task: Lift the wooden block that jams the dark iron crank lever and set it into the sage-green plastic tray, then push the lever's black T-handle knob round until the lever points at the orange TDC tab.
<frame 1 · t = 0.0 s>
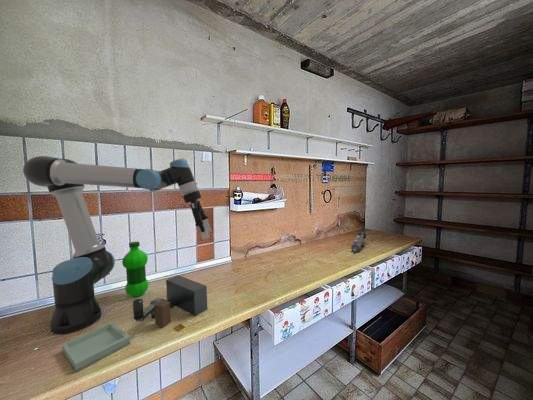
hand: (207, 235, 107), 28 cm above the workbench, tool tilted 20°, fingers open, 13 cm apart
plastic bottle: (137, 294, 110), on the workbench
tray: (96, 347, 74), on the workbench
wooden block: (163, 324, 86), on the workbench
hydraulic cylinder: (358, 247, 179), on the workbench
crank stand: (158, 315, 91), on the workbench
crank: (149, 302, 86), point 8 cm above the workbench, hinge at -60.0°
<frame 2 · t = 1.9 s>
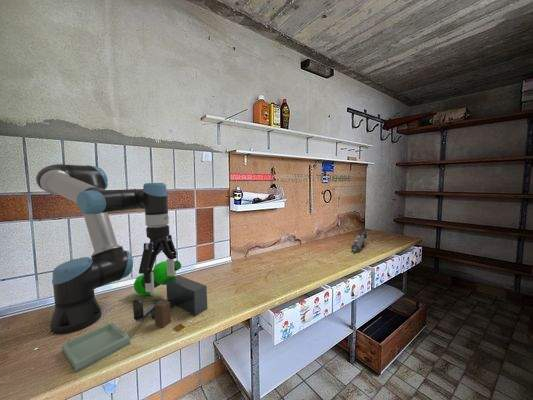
hand: (161, 282, 84), 16 cm above the workbench, tool pointing down, fingers open, 13 cm apart
plastic bottle: (139, 288, 110), point 3 cm above the workbench, touching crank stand
everything else where it was.
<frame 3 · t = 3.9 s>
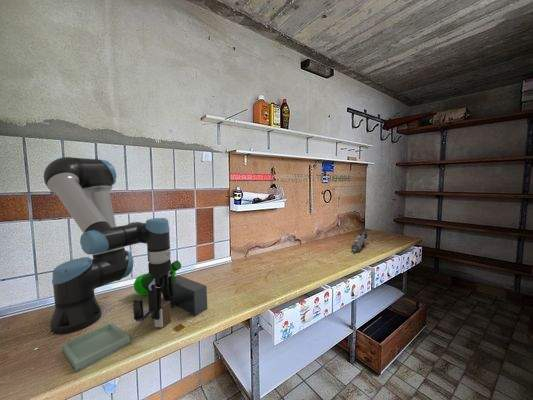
hand: (163, 321, 85), 1 cm above the workbench, tool pointing down, fingers closed on wooden block, 5 cm apart
wooden block: (163, 324, 86), on the workbench, touching gripper
everything else where it was.
when the fingers open (3 cm above the workbench, at t = 9.6 s): wooden block drops 1 cm, resting on tray.
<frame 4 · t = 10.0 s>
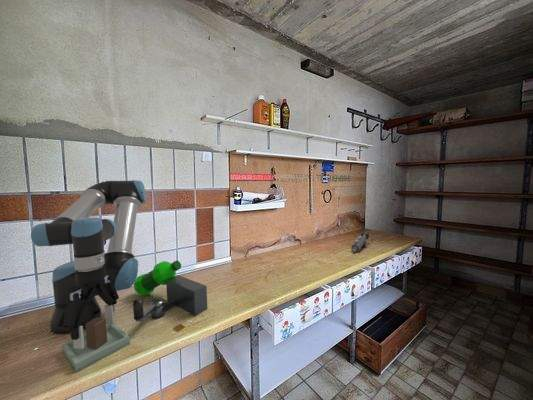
hand: (95, 334, 73), 4 cm above the workbench, tool pointing down, fingers open, 11 cm apart
wooden block: (97, 345, 74), point 1 cm above the workbench, touching tray
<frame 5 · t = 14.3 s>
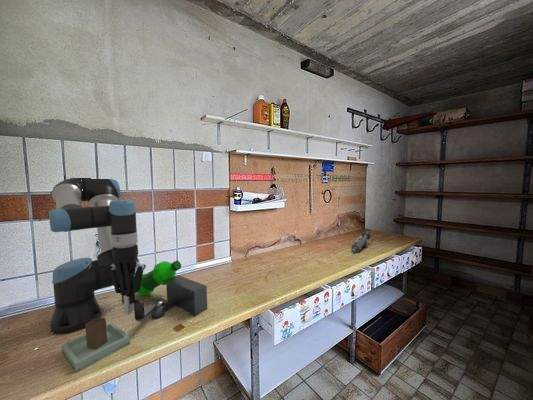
hand: (129, 312, 80), 8 cm above the workbench, tool pointing down, fingers closed
crank: (149, 302, 86), point 8 cm above the workbench, hinge at -58.2°, touching gripper
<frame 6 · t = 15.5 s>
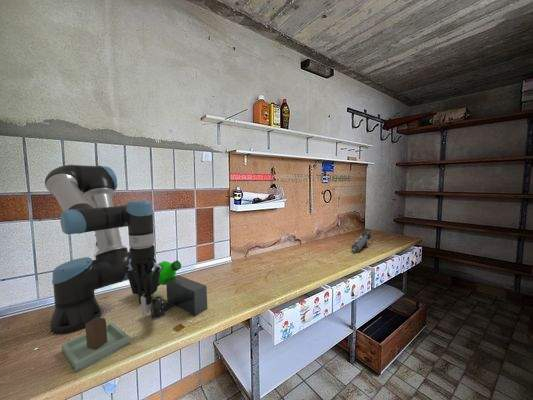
hand: (146, 313, 80), 7 cm above the workbench, tool pointing down, fingers closed
crank: (157, 301, 86), point 8 cm above the workbench, hinge at -27.1°, touching gripper
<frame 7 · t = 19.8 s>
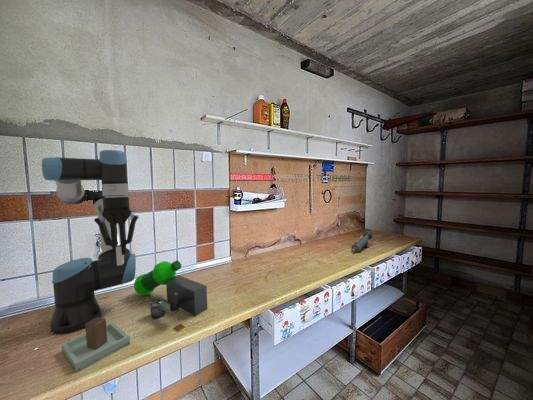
hand: (120, 264, 80), 24 cm above the workbench, tool pointing down, fingers closed
crank: (164, 298, 88), point 8 cm above the workbench, hinge at 3.5°
at the end: crank at +4° (first picture: -60°); wooden block inside the target area on the tray (0.3 cm from its centre), point 0.6 cm above the tray's base; the gripper is holding nothing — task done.
